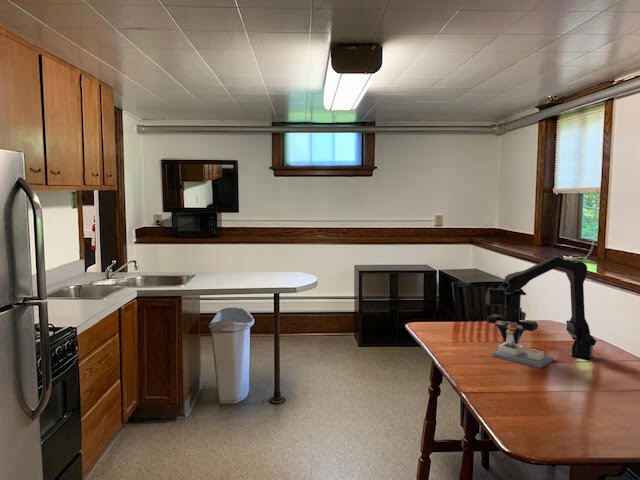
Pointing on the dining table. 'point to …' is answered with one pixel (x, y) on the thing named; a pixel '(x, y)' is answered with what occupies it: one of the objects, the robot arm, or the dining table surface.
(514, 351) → the board
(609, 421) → the dining table surface
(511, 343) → the gold capped canister
